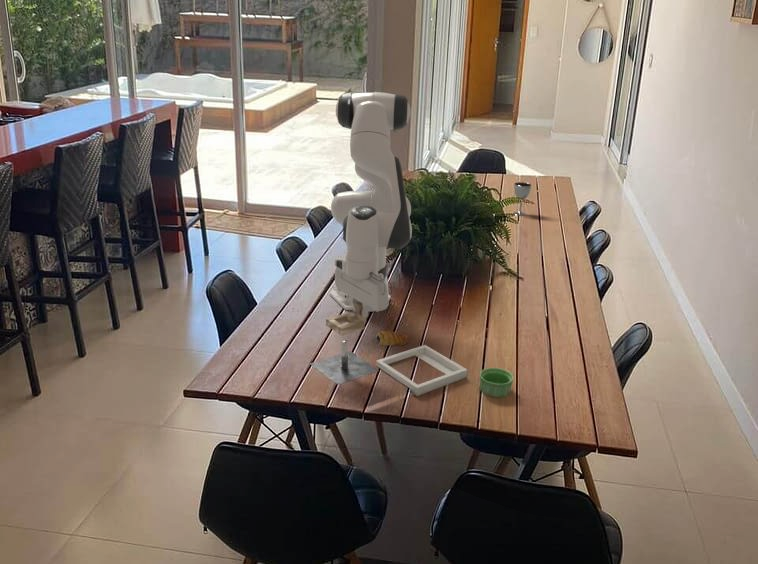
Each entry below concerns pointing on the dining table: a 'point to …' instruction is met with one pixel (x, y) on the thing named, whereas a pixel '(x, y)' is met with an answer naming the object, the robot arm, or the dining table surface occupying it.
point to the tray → (431, 357)
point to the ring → (354, 321)
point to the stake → (344, 366)
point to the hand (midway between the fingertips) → (360, 314)
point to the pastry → (391, 338)
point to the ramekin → (496, 382)
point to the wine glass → (521, 194)
